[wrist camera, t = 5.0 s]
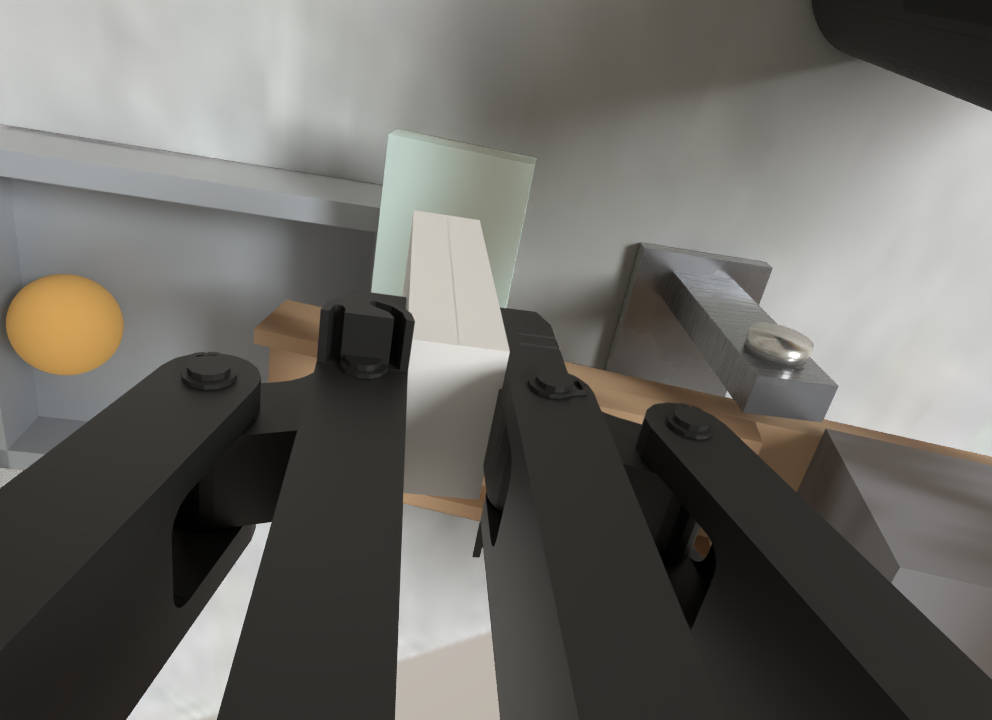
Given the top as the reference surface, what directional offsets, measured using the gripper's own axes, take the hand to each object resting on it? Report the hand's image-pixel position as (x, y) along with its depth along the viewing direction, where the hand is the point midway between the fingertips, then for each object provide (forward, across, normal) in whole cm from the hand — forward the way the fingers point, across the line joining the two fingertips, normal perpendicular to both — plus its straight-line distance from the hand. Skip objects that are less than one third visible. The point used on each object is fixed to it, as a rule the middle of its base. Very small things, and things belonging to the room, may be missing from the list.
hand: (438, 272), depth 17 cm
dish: (+10, -8, -6) cm, 14 cm away
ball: (+8, -12, -6) cm, 15 cm away
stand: (+9, +10, -6) cm, 15 cm away
